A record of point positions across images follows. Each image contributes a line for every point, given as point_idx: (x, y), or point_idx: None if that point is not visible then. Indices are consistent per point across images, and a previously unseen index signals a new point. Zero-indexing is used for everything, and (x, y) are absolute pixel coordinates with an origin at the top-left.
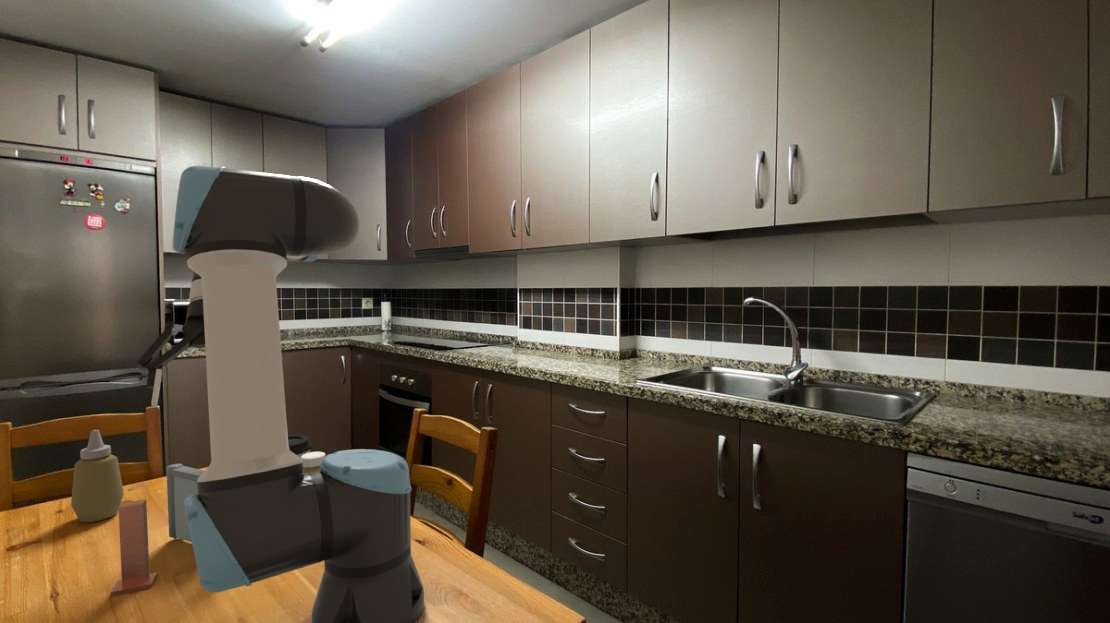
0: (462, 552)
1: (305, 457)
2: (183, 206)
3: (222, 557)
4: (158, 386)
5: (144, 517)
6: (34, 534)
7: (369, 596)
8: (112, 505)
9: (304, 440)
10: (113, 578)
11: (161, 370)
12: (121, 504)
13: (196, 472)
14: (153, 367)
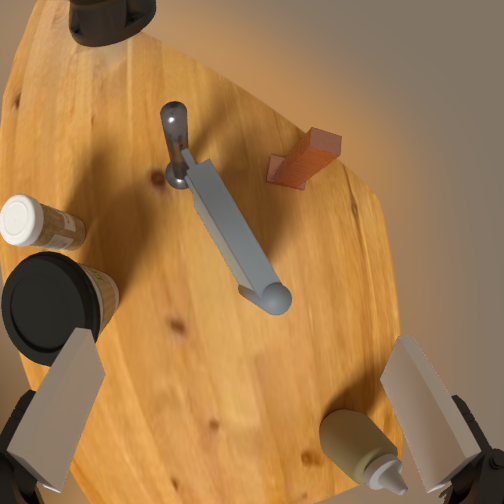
0: (12, 68)
1: (29, 207)
2: None
3: None
4: (430, 386)
5: (302, 143)
6: (388, 399)
7: None
8: (330, 421)
9: (8, 286)
10: (309, 210)
11: (458, 461)
12: (340, 148)
13: (233, 221)
14: (492, 455)
